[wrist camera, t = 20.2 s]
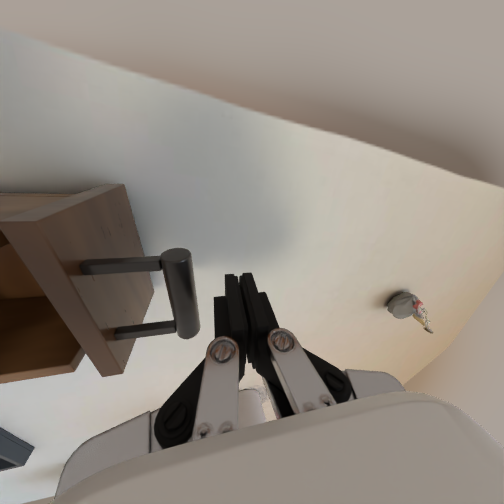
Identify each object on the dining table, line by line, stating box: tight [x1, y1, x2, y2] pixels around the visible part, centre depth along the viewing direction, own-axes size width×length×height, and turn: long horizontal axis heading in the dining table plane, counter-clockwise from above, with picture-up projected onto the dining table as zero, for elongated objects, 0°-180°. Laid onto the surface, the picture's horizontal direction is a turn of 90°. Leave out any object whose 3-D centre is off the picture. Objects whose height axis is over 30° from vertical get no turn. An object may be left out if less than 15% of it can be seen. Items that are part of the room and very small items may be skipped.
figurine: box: [387, 292, 433, 333], centre depth 27 cm, size 5×4×6 cm
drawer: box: [0, 184, 200, 384], centre depth 11 cm, size 18×10×8 cm, turn 86°
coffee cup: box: [238, 389, 266, 429], centre depth 30 cm, size 10×10×15 cm
